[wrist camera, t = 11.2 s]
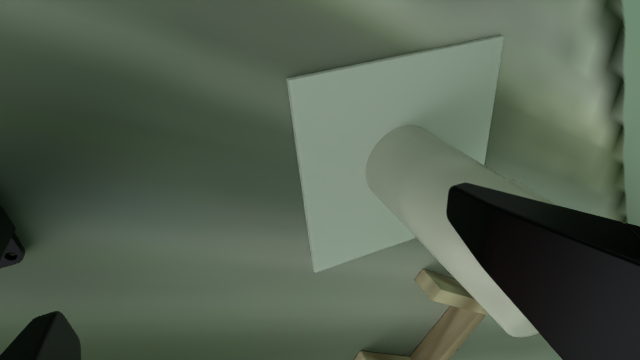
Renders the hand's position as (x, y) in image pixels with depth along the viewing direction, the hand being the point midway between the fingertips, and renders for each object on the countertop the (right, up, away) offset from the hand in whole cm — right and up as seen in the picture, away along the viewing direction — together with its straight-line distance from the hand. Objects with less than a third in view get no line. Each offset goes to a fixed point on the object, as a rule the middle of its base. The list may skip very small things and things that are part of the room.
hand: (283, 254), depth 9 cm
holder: (+10, -12, +27) cm, 31 cm away
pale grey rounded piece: (+7, +3, +17) cm, 19 cm away
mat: (+6, +3, +17) cm, 18 cm away
